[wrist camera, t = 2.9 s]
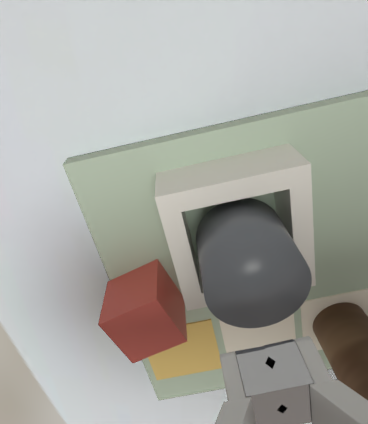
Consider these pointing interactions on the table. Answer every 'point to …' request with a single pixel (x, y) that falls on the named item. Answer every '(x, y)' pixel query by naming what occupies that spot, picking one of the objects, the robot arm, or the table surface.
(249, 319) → the dome
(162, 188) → the housing
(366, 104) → the board
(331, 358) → the pawn
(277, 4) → the table surface
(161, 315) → the red cube
